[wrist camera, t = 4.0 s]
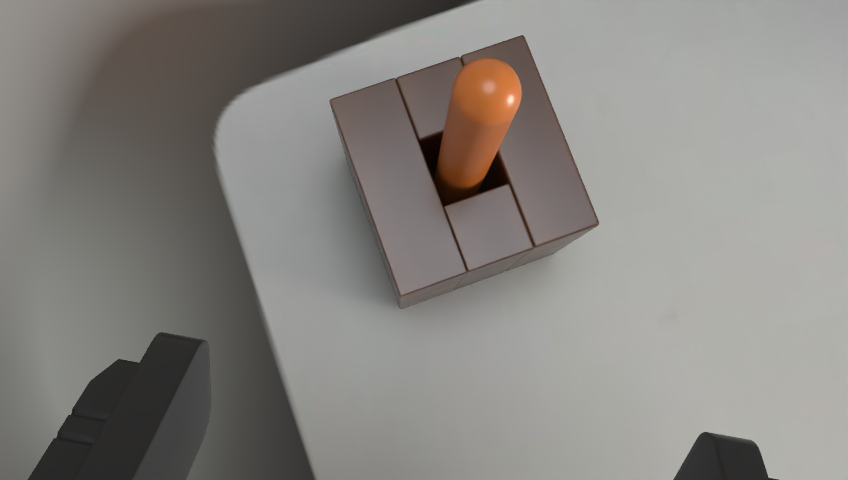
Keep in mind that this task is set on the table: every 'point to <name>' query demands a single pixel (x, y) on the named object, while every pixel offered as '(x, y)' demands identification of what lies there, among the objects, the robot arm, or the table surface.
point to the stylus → (475, 126)
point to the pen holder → (471, 217)
